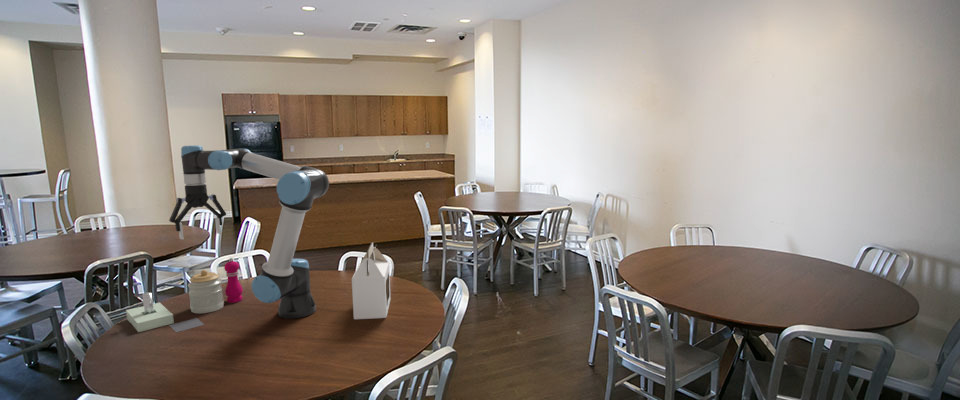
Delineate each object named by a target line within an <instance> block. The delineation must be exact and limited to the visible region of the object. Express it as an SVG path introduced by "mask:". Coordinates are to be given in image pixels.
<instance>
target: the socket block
mask: <svg viewBox="0 0 960 400" xmlns="http://www.w3.org/2000/svg"><path fill="white" fill-rule="evenodd" d="M153 308H154V313H152V314H148V315H145V313H144V305H143V306H139V307H134V308H130V309H126V310H125V314H126V319H127V321H128V322H129V323H130V324H131V325H132V326H133V327H134V329H135V330H136V331H137V333H141V332H142V333H143V332H144V331H149V330H153V329H156V328H160V327H165V326H169V325H171V324H175V322H174V321H175V320H174V314H173V313H172V312H171V311H170V310H169V309H168V308H166V307H165V306H164V305H163V304H162V303H161V302H156V303H153Z"/></svg>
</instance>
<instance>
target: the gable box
mask: <svg viewBox="0 0 960 400" xmlns="http://www.w3.org/2000/svg"><path fill="white" fill-rule="evenodd" d="M377 246H378V245H377V243H376V244H375V246H374V242H371V243H370V245H369V247H368V248H367V251H366V253H365V255H364V256H363V258H362V259H361V261H360V263H359V264H358V265H357V268H356V270H355V271H354V273H353V276H352V277H351V289H352V290H351V292H352V295H351V296H352V311H353V312H352V314H353V320H368V319H370V320H372V319H386V318H388V317H387V316H388V313H389V307H390V303H391V278H390V277H391V276H390V262H389V261H388V260H387V259H386V258H385V257H384V255H383V254H382V252H381V251H380V250H379V249H378V248H376V247H377Z"/></svg>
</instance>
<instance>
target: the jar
mask: <svg viewBox="0 0 960 400" xmlns="http://www.w3.org/2000/svg"><path fill="white" fill-rule="evenodd" d="M222 282H223V279H221V278H220V274H218V273H216V272H213V271H208V270H207V269H201V271H200V273H197V274H194V275H193V276H192V277H190V278H189V283H188V284H187V287H188V288H189V291H188V295H189V304H190V305H189V307H190V311H191V313H193V314H207V313H212V312H215V311H219V310H221V309H222V308H224V304H225V300H224V294H223V289H224V288H223V285H222Z"/></svg>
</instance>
